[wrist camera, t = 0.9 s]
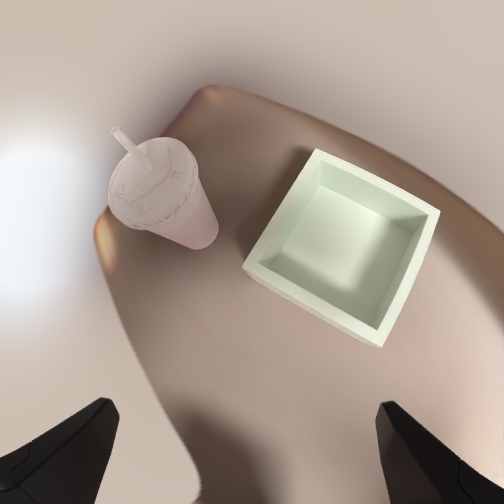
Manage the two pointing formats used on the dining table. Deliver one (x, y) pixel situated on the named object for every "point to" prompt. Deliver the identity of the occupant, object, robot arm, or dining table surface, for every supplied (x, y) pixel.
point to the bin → (344, 247)
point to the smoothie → (161, 192)
